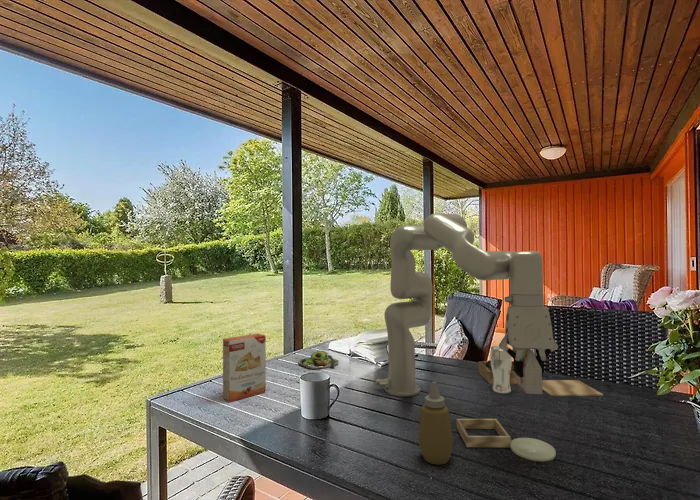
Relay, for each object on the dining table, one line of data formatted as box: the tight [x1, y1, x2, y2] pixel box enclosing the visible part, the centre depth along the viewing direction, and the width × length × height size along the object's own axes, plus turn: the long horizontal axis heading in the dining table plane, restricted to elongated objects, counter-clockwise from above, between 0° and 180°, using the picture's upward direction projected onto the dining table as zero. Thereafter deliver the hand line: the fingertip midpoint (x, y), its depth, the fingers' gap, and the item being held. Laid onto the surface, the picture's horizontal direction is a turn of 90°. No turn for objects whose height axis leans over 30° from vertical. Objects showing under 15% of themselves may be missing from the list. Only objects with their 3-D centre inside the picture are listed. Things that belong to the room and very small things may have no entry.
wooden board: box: [542, 379, 604, 397], centre depth 136 cm, size 17×15×1 cm
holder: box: [456, 418, 512, 448], centre depth 101 cm, size 11×11×2 cm
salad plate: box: [298, 350, 340, 370], centre depth 173 cm, size 19×18×5 cm
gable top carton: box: [517, 349, 543, 395], centre depth 94 cm, size 4×7×10 cm, turn 172°
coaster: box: [509, 437, 557, 462], centre depth 93 cm, size 10×10×1 cm
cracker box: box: [222, 333, 267, 403], centre depth 136 cm, size 14×6×21 cm, turn 131°
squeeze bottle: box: [418, 381, 454, 465], centre depth 91 cm, size 8×8×18 cm
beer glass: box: [490, 345, 513, 395], centre depth 135 cm, size 7×7×15 cm
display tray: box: [478, 360, 518, 385], centre depth 148 cm, size 14×14×4 cm
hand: (529, 374), depth 94 cm, fingers closed on gable top carton, 4 cm apart
